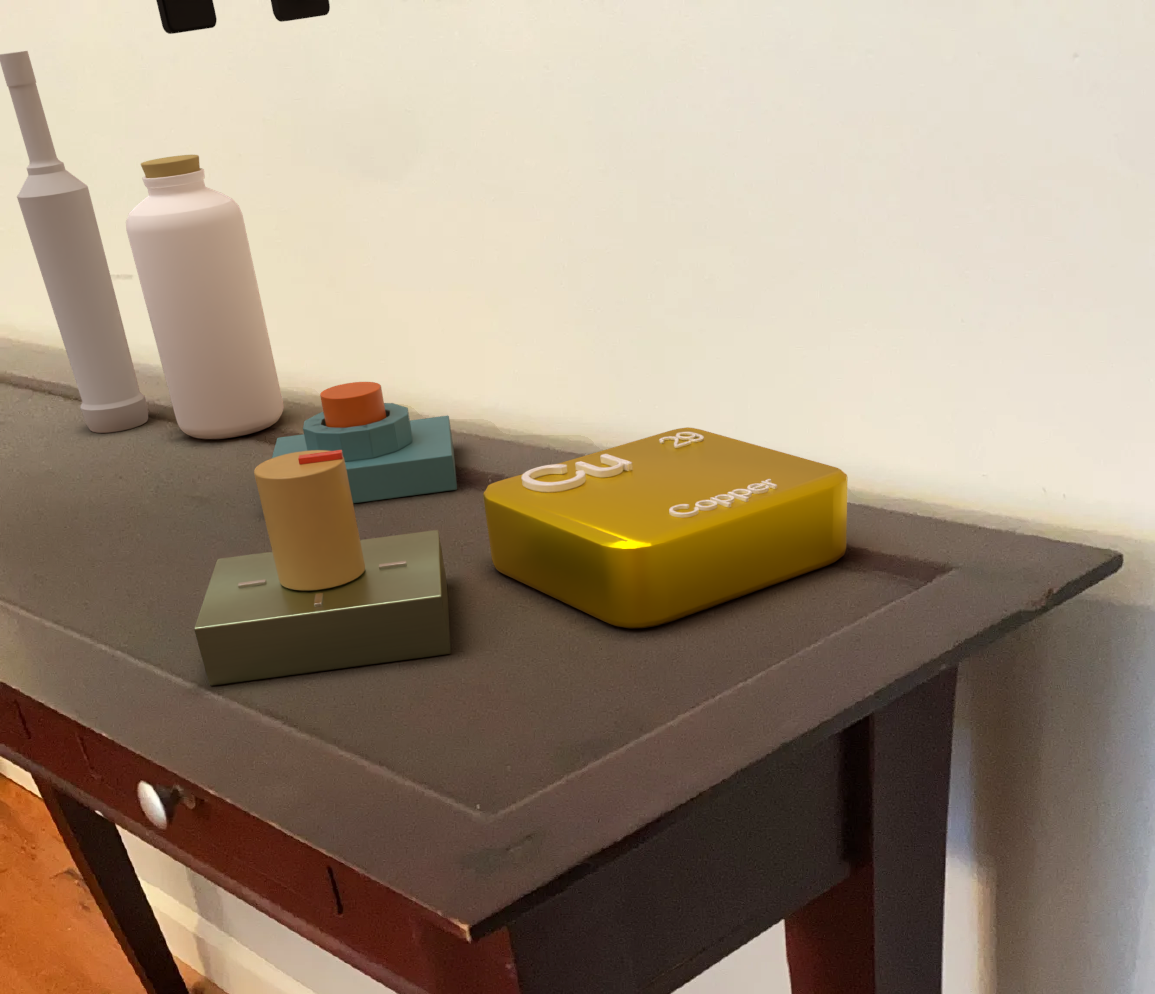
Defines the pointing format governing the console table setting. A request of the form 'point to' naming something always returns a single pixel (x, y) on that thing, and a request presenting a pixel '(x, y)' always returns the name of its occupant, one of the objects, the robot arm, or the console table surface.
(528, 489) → the element tile
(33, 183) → the bottle
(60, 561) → the console table surface
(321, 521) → the knob
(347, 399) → the button
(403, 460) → the button base
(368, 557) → the panel
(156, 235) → the potion bottle
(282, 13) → the robot arm
